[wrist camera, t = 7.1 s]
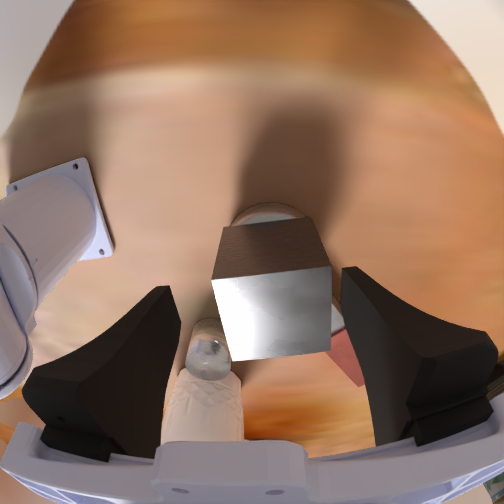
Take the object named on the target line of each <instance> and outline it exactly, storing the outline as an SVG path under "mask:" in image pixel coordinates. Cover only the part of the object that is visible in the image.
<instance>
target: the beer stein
mask: <svg viewBox="0 0 504 504" xmlns="http://www.w3.org/2000/svg"><path fill="white" fill-rule="evenodd" d="M485 384H486V386H487V388H488V390H489V393H488V394H487V395H486V397H487V398H488V400H489V402H490V401H491V400H492V399H493V398H494V397H496V396H498V395H500V394H502V393H504V361H502V362H499V363H497V364H496V365H495V367H494V369H493V371H492V373H491V375H490V376H489V378H488V380H487V382H486V383H485ZM483 484H484V486H485V488H486V489H487V491H488V493H489V494H490V496H491V499H492V502H493V504H504V472H502V473H500V474H499V475H497V476H495V477H493V478H492V479H490V480H488V481H486V482H484V483H483Z"/></svg>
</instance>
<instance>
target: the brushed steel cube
mask: <svg viewBox="0 0 504 504" xmlns="http://www.w3.org/2000/svg"><path fill="white" fill-rule="evenodd" d="M211 281H212V285H213V289H214V293H215V297H216V301H217V305H218V309H219V312H220V316H221V320H222V324H223V328H224V331H225V335H226V339H227V343H228V346H229V350H230V354H231V357H232V361H241V360H254V359H265V358H275V357H284V356H293V355H301V354H309V353H317V352H324V351H331V319H332V268H331V264H330V261H329V259H328V256H327V254H326V251H325V249H324V246H323V244H322V242H321V239H320V237H319V235H318V232H317V230H316V227H315V225H314V223H313V220H312V218H311V217H302V218H294V219H285V220H277V221H269V222H261V223H253V224H245V225H237V226H229V227H224V228H223V232H222V236H221V240H220V245H219V249H218V253H217V257H216V262H215V266H214V270H213V275H212V279H211Z"/></svg>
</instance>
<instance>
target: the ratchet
mask: <svg viewBox="0 0 504 504" xmlns="http://www.w3.org/2000/svg"><path fill="white" fill-rule="evenodd" d="M302 217H305V216H304V215H303V214H302V213H300V212H299V211H298V210H296V209H295V208H293V207H291V206H288V205H285V204H281V203H273V202H270V203H262V204H258V205H254V206H252V207H250V208H248V209H246V210H245V211H243V212H242V213H241V214H240V215H238V217H237V218H236V219H235V220H234V221H233V223H232V224H231V226H237V225H245V224H253V223H261V222H269V221H277V220H285V219H294V218H302ZM340 306H341V305H340V304H339V302H338V301H337V300H336V298H335V297H334V296H333V294H332V319H331V351H325V352H326V353H327V354H328V356H329V357H330V358H331V359H332V360H333V361H334V362H335V363H336V364H337V365H338V366H339V367H340V368H341V369H342V370H343V371H344V372H345V374H346V375H347V376H348V377H349V378H350V379H351V380H352V381H353V382H354V383H355V384H356V385H357V386H358V387H360V386H362V385H364V384H365V382H364V377H363V374H362V371H361V367H360V365H359V362H358V359H357V357H356V354H355V351H354V349H353V346H352V344H351V341H350V338H349V336H348V333H347V331H346V328H345V324H344V320H343V316H342V312H341V308H340Z"/></svg>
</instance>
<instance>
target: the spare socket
mask: <svg viewBox="0 0 504 504" xmlns="http://www.w3.org/2000/svg"><path fill="white" fill-rule="evenodd" d="M185 366H186V369H187V370H188V372H189V373H190V374H192V375H193V376H194V377H196V378H199V379H202V380H206V381H216V380H221V379H223V378H225V377H226V376H227V375H228V374H229V372H230V367H231V354H230V350H229V346H228V343H227V339H226V335H225V331H224V328H223V324H222V320H219V319H215V318H207V319H203V320H200V321H198V322H197V323H196V324H195V325H194V327H193V331H192V335H191V340H190V344H189V348H188V352H187V357H186V361H185Z"/></svg>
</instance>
